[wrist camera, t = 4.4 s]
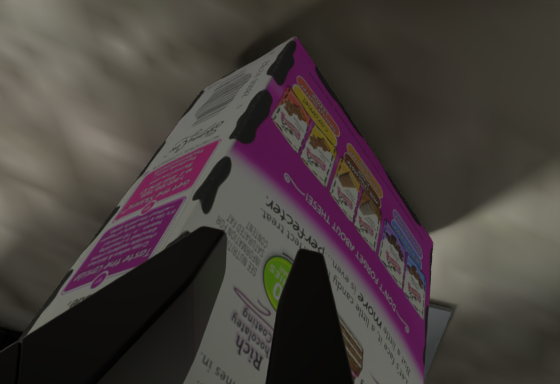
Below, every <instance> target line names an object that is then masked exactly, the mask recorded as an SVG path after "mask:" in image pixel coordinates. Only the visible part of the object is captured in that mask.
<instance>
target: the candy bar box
mask: <svg viewBox="0 0 560 384" xmlns="http://www.w3.org/2000/svg"><path fill="white" fill-rule="evenodd" d="M201 226H208V227H213V228H217V229H221V230H224V231H225V232H226V234H227V255H226V271H225V276H224V279H223V282H222V285H221V288H220V291H219V294H218V296H217V299H216V302H215V305H214V308H213V310H212V313H211V316H210V319H209V322H208V324H207V327H206V330H205V333H204V336H203V338H202V341H201V344H200V347H199V349H198V352H197V355H196V357H195V360H194V362H193V364H192V366H191V369H190V371H189V373H188V375H187V377H186V379H185V381H184V383H183V384H265V382H266V375H267V369H268V362H269V356H270V349H271V343H272V336H273V330H274V323H275V317H276V311H277V306H278V301H279V298H280V295H281V292H282V290H283V287H284V284H285V282H286V279H287V277H288V274H289V272H290V269H291V266H292V264H293V261H294V259H295V256H296V253H297V251H298V250H299V249H301V248H304V249H308V250H312V251H316V252H320V253H322V254H323V255H324V258H325V262H326V266H327V270H328V274H329V279H330V283H331V287H332V291H333V295H334V299H335V304H336V308H337V312H338V316H339V320H340V324H341V329H342V333H343V337H344V341H345V345H346V349H347V354H348V358H349V362H350V366H351V370H352V374H353V379H354V383H355V384H424V367H425V353H426V339H427V330H428V312H429V298H430V283H431V265H432V251H433V241H432V239H431V238H430V236H429V235H428V233H427V232H426V230H425V229H424V227H423V226H422V224H421V223H420V221H419V220H418V218H417V217H416V215H415V214H414V212H413V211H412V210H411V208H410V207H409V205H408V204H407V202H406V201H405V199H404V198H403V196H402V195H401V194H400V192H399V191H398V189H397V187H396V186H395V184H394V183H393V181H392V180H391V178H390V177H389V176H388V174H387V173H386V171H385V170H384V168H383V167H382V165H381V164H380V162H379V161H378V159H377V158H376V156H375V155H374V153H373V152H372V150H371V149H370V147H369V146H368V144H367V143H366V141H365V140H364V138H363V136H362V135H361V133H360V132H359V130H358V129H357V127H356V126H355V124H354V123H353V121H352V120H351V118H350V117H349V115H348V114H347V112H346V111H345V109H344V108H343V106H342V105H341V103H340V102H339V100H338V99H337V97H336V96H335V94H334V93H333V91H332V90H331V88H330V87H329V85H328V84H327V82H326V81H325V79H324V78H323V76H322V74H321V73H320V71H319V70H318V68H317V67H316V65H315V64H314V62H313V61H312V59H311V58H310V56H309V55H308V53H307V52H306V50H305V49H304V47H303V46H302V44H301V43H300V41H299V40H298V38H297V37H296V36H294V37H292V38H290V39H288V40H286V41H285V42H283V43H281V44H280V45H278V46H276V47H274V48H273V49H271V50H269V51H268V52H266V53H265V54H263V55H261V56H260V57H258V58H257V59H255V60H253V61H252V62H250V63H248V64H246V65H244V66H242V67H241V68H239V69H237V70H236V71H234V72H231V73H229V74H228V75H226V76H223V77H222V78H221V79H219V80H217V81H216V82H214V83H213V84H211V85H209V86H208V87H206V88H204V89H203V90H202V91H201V92H200V93H199V95H198V96H197V97H196V98H195V100H194V101H193V103H192V104H191V105H190V107H189V108H188V109H187V111H186V112H185V113H184V115H183V116H182V118H181V119H180V121H179V122H178V124H177V125H176V126H175V128H174V129H173V131H172V132H171V133H170V134H169V136H168V137H167V139H166V140H165V141H164V143H163V144H162V145H161V147H160V148H159V149H158V150H157V152H156V153H155V154H154V156H153V157H152V159H151V160H150V162H149V163H148V164H147V166H146V167H145V169H144V170H143V171H142V172H141V174H140V175H139V177H138V178H137V180H136V181H135V182H134V184H133V185H132V187H131V188H130V189H129V190H128V192H127V193H126V194H125V196H124V197H123V198H122V200H121V201H120V202H119V204H118V205H117V207H116V208H115V209H114V211H113V212H112V213H111V215H110V216H109V217H108V219H107V220H106V221H105V223H104V224H103V226H102V227H101V228H100V230H99V231H98V233H97V234H96V235H95V237H94V238H93V239H92V241H91V243H90V244H89V246H88V247H87V248H86V249H85V250H84V252H83V253H82V254H81V255H80V257H79V258H78V260H77V261H76V262H75V264H74V265H73V267H72V268H71V269H70V271H69V272H68V273H67V274H66V276H65V277H64V278H63V280H62V281H61V283H60V284H59V286H58V287H57V288H56V290H55V291H54V292H53V294H52V295H51V296H50V297H49V299H48V300H47V302H46V303H45V304H44V306H43V307H42V308H41V310H40V311H39V312H38V314H37V315H36V316H35V318H34V319H33V320H32V322H31V323H30V325H29V326H28V327H27V329H26V330H25V331H24V333H23V334H22V335H21V337H20V338H19V339H18V341H19V342H21V340H22V338H23V337H24V336H26V335H28V334H29V333H31V332H32V331H34V330H36V329H37V328H39V327H40V326H42V325H44V324H45V323H47V322H48V321H50V320H52V319H53V318H55V317H56V316H58V315H60V314H61V313H63V312H65V311H66V310H68V309H69V308H71V307H73V306H74V305H76V304H77V303H79V302H81V301H82V300H84V299H85V298H87V297H89V296H90V295H92V294H93V293H95V292H97V291H98V290H100V289H101V288H103V287H105V286H106V285H108V284H109V283H111V282H113V281H114V280H116V279H117V278H119V277H121V276H122V275H124V274H125V273H127V272H129V271H130V270H132V269H133V268H135V267H137V266H138V265H140V264H141V263H143V262H145V261H146V260H148V259H149V258H151V257H153V256H154V255H156V254H157V253H159V252H161V251H162V250H164V249H165V248H167V247H169V246H170V245H172V244H173V243H175V242H177V241H178V240H180V239H181V238H183V237H185V236H186V235H188V234H189V233H191V232H193V231H194V230H196V229H197V228H199V227H201Z"/></svg>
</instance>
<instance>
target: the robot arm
mask: <svg viewBox="0 0 560 384" xmlns="http://www.w3.org/2000/svg"><path fill="white" fill-rule="evenodd" d="M226 255H227V234H226V232H225V231H224V230H221V229H217V228H213V227H208V226H201V227H199V228H197V229H196V230H194V231H193V232H191V233H189V234H188V235H186V236H185V237H183V238H181V239H180V240H178V241H177V242H175V243H173V244H172V245H170V246H169V247H167V248H165V249H164V250H162V251H161V252H159V253H157V254H156V255H154V256H153V257H151V258H149V259H148V260H146V261H145V262H143V263H141V264H140V265H138V266H137V267H135V268H133V269H132V270H130V271H129V272H127V273H125V274H124V275H122V276H121V277H119V278H117V279H116V280H114V281H113V282H111V283H109V284H108V285H106V286H105V287H103V288H101V289H100V290H98V291H97V292H95V293H93V294H92V295H90V296H89V297H87V298H85V299H84V300H82V301H81V302H79V303H77V304H76V305H74V306H73V307H71V308H69V309H68V310H66V311H65V312H63V313H61V314H60V315H58V316H56V317H55V318H53V319H52V320H50V321H48V322H47V323H45V324H44V325H42V326H40V327H39V328H37V329H36V330H34V331H32V332H31V333H29V334H28V335H26V336H24V337H23V338H22V340H21V342H19V341H18V339H19V338H20V337H21V335H22V334H23V333H19V332H15V331H11V330H8V329H4V328H0V384H183V383H184V381H185V379H186V377H187V375H188V373H189V371H190V369H191V366H192V364H193V362H194V360H195V357H196V355H197V352H198V349H199V347H200V344H201V341H202V338H203V336H204V333H205V330H206V327H207V324H208V322H209V319H210V316H211V313H212V310H213V308H214V305H215V302H216V299H217V296H218V294H219V291H220V288H221V285H222V282H223V279H224V276H225V271H226ZM265 384H355V383H354V379H353V374H352V370H351V366H350V362H349V358H348V354H347V349H346V345H345V341H344V337H343V333H342V329H341V324H340V320H339V316H338V312H337V308H336V304H335V299H334V295H333V291H332V287H331V283H330V279H329V274H328V270H327V266H326V262H325V258H324V255H323V254H322V253H320V252H316V251H312V250H308V249H304V248H301V249H299V250H298V251H297V253H296V256H295V259H294V261H293V264H292V266H291V269H290V272H289V274H288V277H287V279H286V282H285V284H284V287H283V290H282V292H281V295H280V298H279V301H278V306H277V311H276V317H275V323H274V330H273V336H272V343H271V349H270V356H269V362H268V369H267V375H266V382H265Z"/></svg>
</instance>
